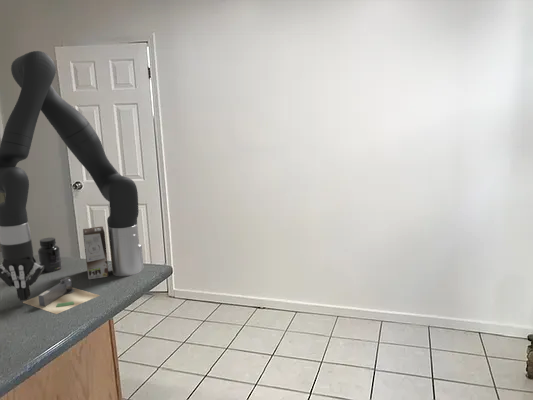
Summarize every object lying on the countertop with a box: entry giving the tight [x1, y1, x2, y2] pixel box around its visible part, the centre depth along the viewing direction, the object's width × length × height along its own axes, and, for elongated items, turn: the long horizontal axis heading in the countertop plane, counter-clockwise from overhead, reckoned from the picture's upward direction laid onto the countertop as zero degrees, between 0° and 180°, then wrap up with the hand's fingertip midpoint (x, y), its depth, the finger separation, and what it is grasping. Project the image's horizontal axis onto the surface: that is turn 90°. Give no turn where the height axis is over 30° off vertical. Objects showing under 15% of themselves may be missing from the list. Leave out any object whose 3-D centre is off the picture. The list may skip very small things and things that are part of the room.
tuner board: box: [22, 286, 101, 315], centre depth 135 cm, size 14×16×2 cm
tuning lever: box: [37, 276, 73, 306], centre depth 135 cm, size 12×3×4 cm, turn 167°
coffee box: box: [82, 226, 110, 280], centre depth 154 cm, size 9×6×16 cm
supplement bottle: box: [37, 237, 63, 273], centre depth 160 cm, size 7×7×12 cm
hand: (24, 299), depth 132 cm, fingers closed
